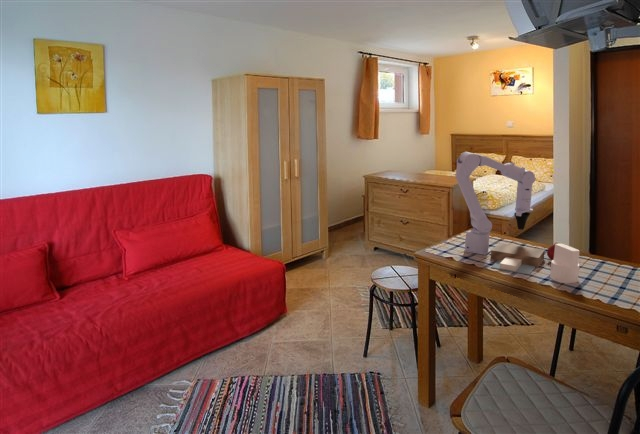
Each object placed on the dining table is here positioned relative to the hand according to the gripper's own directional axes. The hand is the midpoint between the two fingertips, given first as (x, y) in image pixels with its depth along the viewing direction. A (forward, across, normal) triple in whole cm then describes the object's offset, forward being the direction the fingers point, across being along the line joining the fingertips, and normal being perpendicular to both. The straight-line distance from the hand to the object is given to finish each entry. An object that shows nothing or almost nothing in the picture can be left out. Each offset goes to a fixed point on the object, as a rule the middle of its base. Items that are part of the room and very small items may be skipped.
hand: (520, 229), depth 191 cm
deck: (+10, -12, -2) cm, 16 cm away
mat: (+10, -23, -3) cm, 25 cm away
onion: (+10, -7, -15) cm, 19 cm away
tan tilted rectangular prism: (+10, -23, -2) cm, 25 cm away
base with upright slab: (+10, -25, -21) cm, 34 cm away
